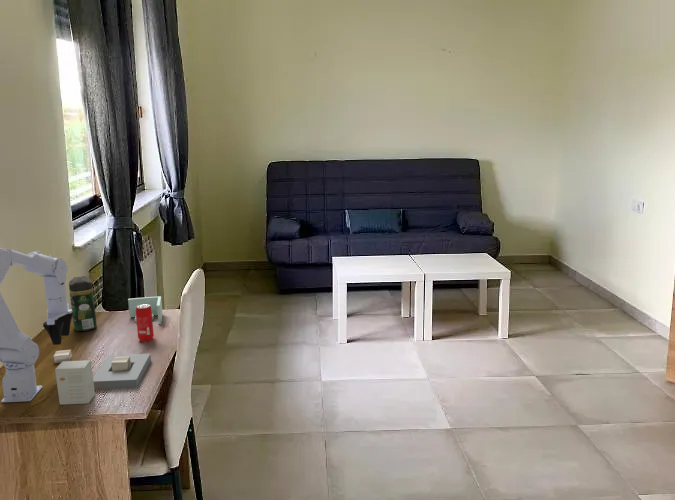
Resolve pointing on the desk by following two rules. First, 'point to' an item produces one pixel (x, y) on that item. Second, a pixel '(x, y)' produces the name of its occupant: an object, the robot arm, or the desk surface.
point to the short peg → (62, 356)
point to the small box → (75, 382)
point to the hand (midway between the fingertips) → (61, 339)
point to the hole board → (121, 373)
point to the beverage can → (144, 322)
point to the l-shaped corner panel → (152, 301)
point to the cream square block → (121, 364)
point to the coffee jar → (82, 303)
